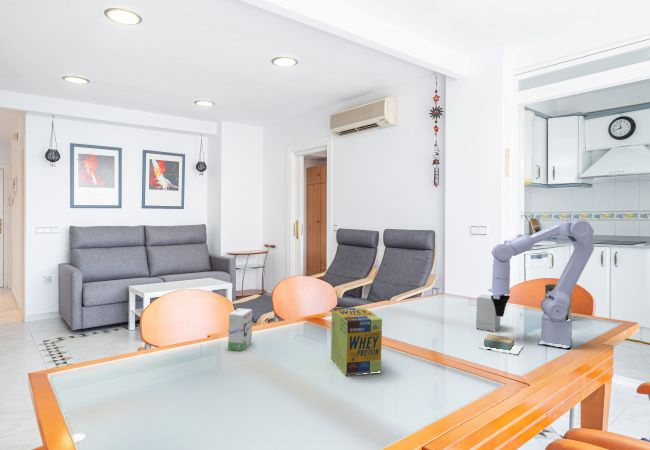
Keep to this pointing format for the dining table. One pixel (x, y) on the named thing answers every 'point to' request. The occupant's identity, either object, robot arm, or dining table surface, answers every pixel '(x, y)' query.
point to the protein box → (356, 340)
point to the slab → (499, 342)
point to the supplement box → (486, 314)
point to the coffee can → (549, 288)
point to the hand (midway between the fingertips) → (499, 316)
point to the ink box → (240, 329)
